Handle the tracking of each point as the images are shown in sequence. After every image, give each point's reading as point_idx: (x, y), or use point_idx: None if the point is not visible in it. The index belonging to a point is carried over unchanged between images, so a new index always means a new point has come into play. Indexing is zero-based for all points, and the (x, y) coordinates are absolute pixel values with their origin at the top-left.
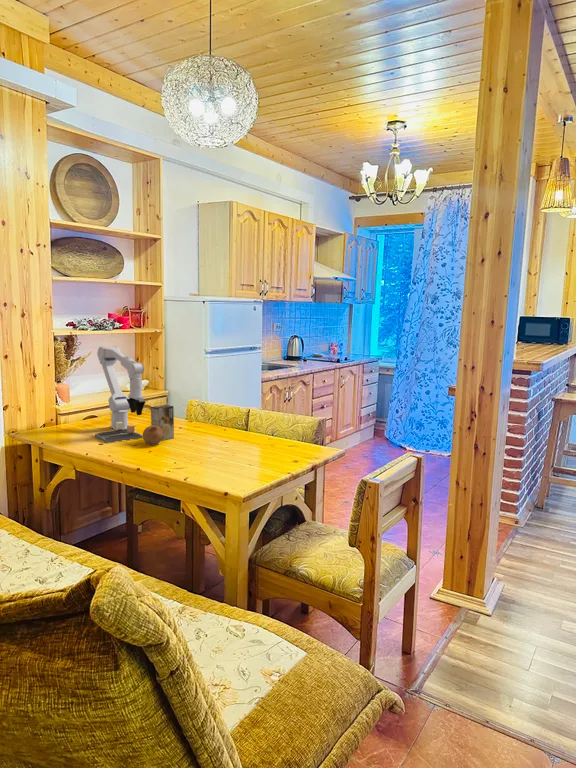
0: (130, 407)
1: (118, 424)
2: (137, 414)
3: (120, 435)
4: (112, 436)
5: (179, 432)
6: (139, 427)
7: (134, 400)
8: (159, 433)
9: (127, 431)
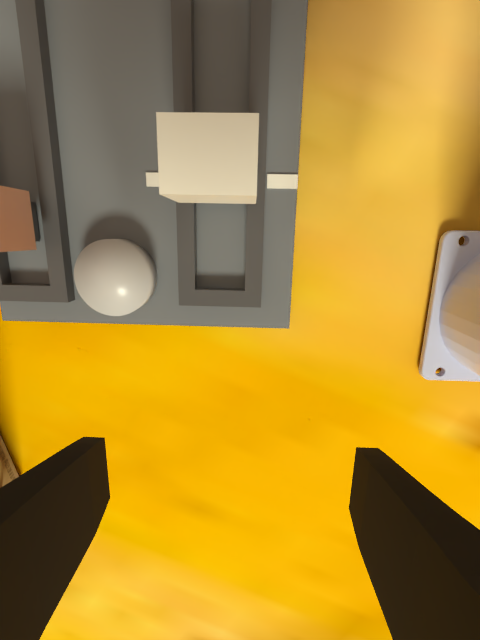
0: (410, 513)
1: (161, 123)
2: (70, 444)
3: (30, 110)
4: (19, 5)
5: (95, 595)
6: (420, 454)
7: None
8: None
9: (18, 191)
